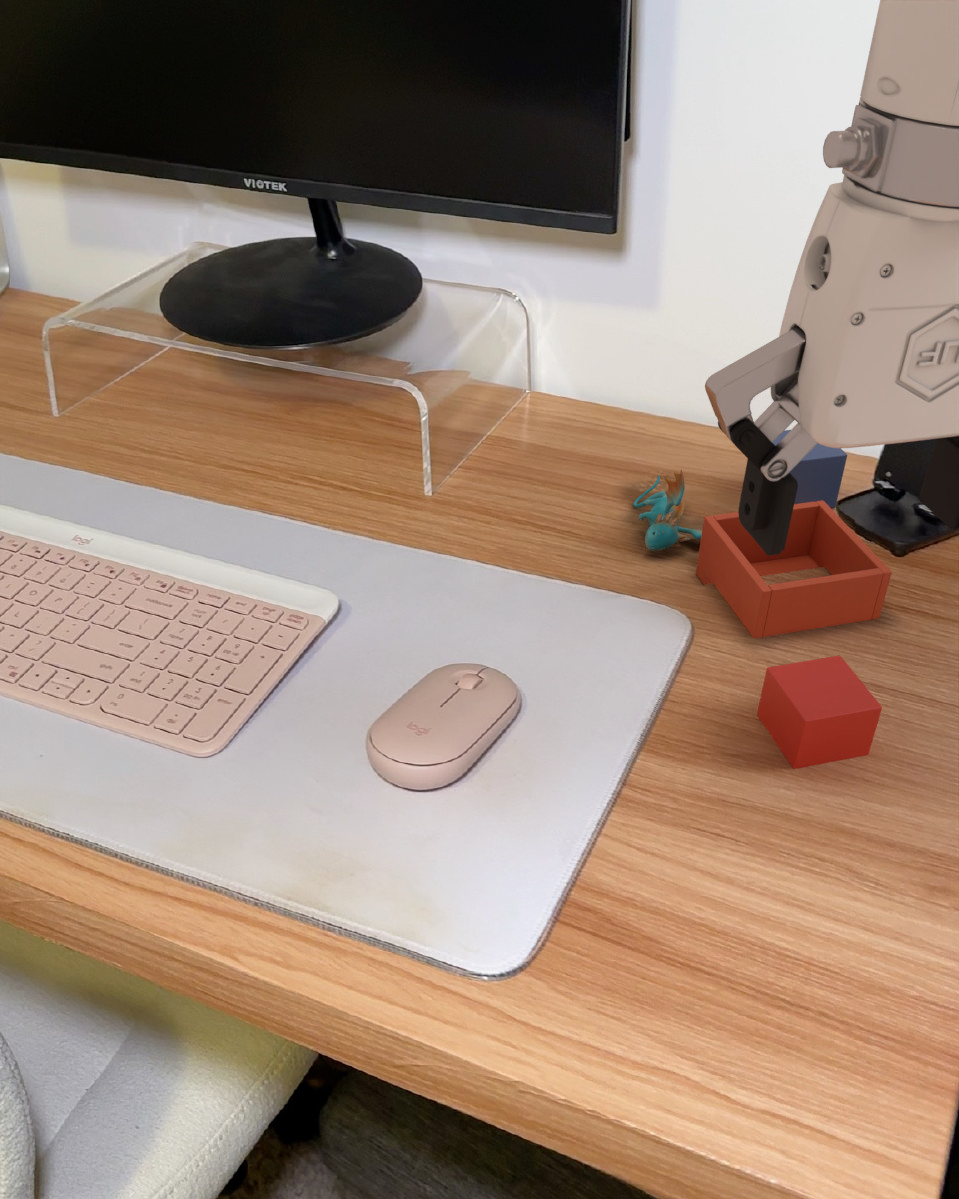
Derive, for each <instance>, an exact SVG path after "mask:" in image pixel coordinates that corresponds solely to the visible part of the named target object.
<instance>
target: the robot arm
mask: <svg viewBox="0 0 959 1199" xmlns="http://www.w3.org/2000/svg"><path fill="white" fill-rule="evenodd" d="M862 81H863V82H862V86H861V90H860V97H859V101H858V104H855V107H854V113H853V116H852V122H851V126H848V127H846V128H845V129H844V130H832V131H830V132H829V133H828V134H827V135H826V137H825V139H824V143H823V147H822V157H823V162H824V164H825V167H826V168H828V169H839V168H840V169H841V168H842V170H841V173H842V175H843V178H842V182H835V183H832V184H829V186H828V187H827V191H826V193H825V195H824V197H823V199H822V201H821V204H820V206H819V208H818V210H817V213H816V216H815V218H814V221H813V223H812V225H811V228H810V231H809V234H808V235H807V239H806V241H805V245H804V247H803V250H802V253H801V256H800V259H799V262H798V264H797V268H796V272H795V274H794V279H793V280H792V284H791V288H790V290H789V294H788V298H787V301H786V305H785V306H786V307H785V310H784V313H783V316H782V321H781V325H780V328H779V329H780V330H779V334H778V337H777V338H774V339H772V340H770V341H769V342H767V343H765V344H764V345H762V346H760V347H759V348H756V349H754V350H753V351H752V352H750V353H748V354H746V355H744V356H743V357H741V358H739V359H737V360H735V361H733V362H732V363H730V364H729V365H726V366H725V367H723V368H721V369H719V370H717V371H716V372H714V373H712V374H711V375H710V376H708V378H707V379H706V381H705V383H704V390H705V393H706V395H707V398H708V400H709V403H710V405H711V409H712V411H713V413H714V416H715V417H716V419H717V426H718V429H719V430H720V431H721V432H722V433H723V434H724V435H725V436H726V438H728V440H729V441H730V442H731V443H732V444H733V445H734V446H735V447H736V448H737V449H738V450H739V451H740V452H741V453H742V455H744V457H746V458H747V460H746V466H745V470H744V477H743V483H742V488H741V494H740V499H739V504H738V511H737V512H738V514H739V520H740V523H741V524H742V526H743V527H744V528H745V529H746V530H747V531H748V532H749V534H750V535H751V536H752V537H753V538H754V540H755V541H756V542H757V543H758V545H759V546H760V547H761V548H762V549H763V551H764V552H765V553H766V554H767V555H777V554H780V553H781V551H783V550H784V548H785V544H786V539H787V535H788V530H789V526H790V521H791V516H792V512H793V507H794V503H795V498H796V493H797V489H798V483H797V480H796V479H795V478H794V477H793V476H792V475H791V474H790V473H789V472H790V471H791V470H792V469H793V468H794V467H795V466H796V465H797V464H798V463H799V462H800V461H801V460H802V459H803V458H804V457H805V456H806V455H807V454H808V453H809V452H810V451H811V450H812V449H813V448H814V447H815V446H816V445H817V444H818V443H819V444H821V445H823V446H826V447H831V448H841V449H852V448H853V449H854V448H863V447H873V446H874V447H875V446H883V445H891V444H892V445H894V444H903V443H911V442H918V441H928V440H929V441H930V440H934V444H933V448H932V451H931V454H930V458H929V460H928V464H927V468H926V472H925V475H924V479H923V482H922V486H921V489H920V492H919V501H920V503H921V504H922V505H924V506H925V507H926V508H927V509H928V510H929V511H931V513H933V515H935V516H936V517H937V518H938V519H939V520H940V521H941V522H943V524H944V525H946V526H947V527H948V528H949V529H951V530H952V531H959V0H879V4H878V8H877V13H876V19H875V25H874V28H873V32H872V38H871V43H870V47H869V51H868V57H867V60H866V66H865V71H864V75H863V80H862ZM768 389H770V397H771V399H772V402H771V404H770V405H769V406H768V407H767V408H766V409H765V410H764V411H763V412H762V413H761V414H760V415H759V416H758V417H757V418H756V419H755V420H754V419H753V415H752V414H753V413H752V410H751V404H752V401H753V399H754V398H755V397H756V396H757V395H759V394H761V393H763V392H765V391H766V390H768ZM793 422H796V424H795V425H794V427H792V428H791V429H790V430H791V431H790V432H789V433H788V434H787V435H786V436H785V437H784V438H783V439H782V440H781V441H780V442H779V443H778V444H777V445H776V446H775V445H774V444H773V442H774V441H775V440H776V439H777V438H778V437H779V436H780V435H781V434H782V433H783V432H784V431H785V430H787V429H788V428H789V427H790V426H791V425H792V423H793Z"/></svg>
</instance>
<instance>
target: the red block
mask: <svg viewBox="0 0 959 1199" xmlns="http://www.w3.org/2000/svg"><path fill="white" fill-rule="evenodd" d="M762 685H763V686H762V689H761V693H760V699H759V703H758V709H757V711H756V712H757V713H756V715H757V717H758V719H759V720H760V721H761V723H762V724H763V726H764V728H765V729H766V730H767V732H768V733H769V735H770V736H771V738H772V740H774V742H775V743H776V745H777V746H778V748H779V750H780V751H781V753H782V755H784V757H785V758H786V760H787V762H788V763H789V765H790V766H791V768H792V769H793V770H796V769H802V768H808V767H813V766H817V765H823V764H829V763H834V762H838V761H844V760H849V759H854V758H855V759H856V758H860V757H865V756H869V754H870V750H871V747H872V745H873V740H874V737H875V733H876V730H877V727H878V724H879V720H880V718H881V714H882V710H883V706H882V705H881V704H880V703H879V701H878V700H877V699H876V697H875V696H874V695H873V694H872V692H871V691H870V690H869V689H868V687H867V686H866V685H865V684H864V683H863V681H862V680H861V679H860V678H859V676H858V675H857V674H856V672H854V670H853V669H852V668H851V667H850V665H849V664H848V663H847V662H846V661H845V659H844V658H843V657H842V656H841V655H834V656H827V657H820V658H815V659H810V660H804V661H797V662H792V663H786V664H780V665H779V664H778V665H774V666H768V667H766V670H765V674H764V680H763V684H762Z"/></svg>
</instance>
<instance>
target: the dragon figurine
mask: <svg viewBox="0 0 959 1199" xmlns="http://www.w3.org/2000/svg"><path fill="white" fill-rule="evenodd" d="M673 475H674V478H675V481H673V480H670V479H668V478H666V477H664V480H665V481H666V483H667V488H668V489H667V490H666V491H665V490H661V491H659V492H656V493H653V494H652V495H650V496H648V497H647V498H646V499H645V500H643V501H640V500H642V499H643V498H644V497H645V496H646V495H647V494H649V493H650V492H651V491H653V490H654V489H655V488H656V487H657V486H658V484H659V483H660V481H661V477H660V475H659V474H658V475H657V478H656V481H655V482H654V484H653V485H652V486H651V487H649V488H648V489H646V491H644V492H643V493H642V494H640V495H639V496H638V497H637V498H635V500H634V501H633V504H632V506H633V507H634V508H636V509H641V508H644V507H646V506H651V507H652V508H651V509H650V510H649V511H645V512H643V513H639V515H638V520H641V521H644V520H645V519H648V520H647V521H648V524H649V526H647V529H646V532H645V536H644V544H645V547H646V549H648V550H649V551H653V552H657V551H664V550H666V549H668V548H671V549H672V548H675V547H676V548H678V547H682V545H681V544H680V543H683V542H684V541H690V540H691V538H689V537H688V535H691V536H692V537H693V538H694V539H695V540H701V536H702V529H696V528H689V527H681V526H679V525H678V523H679V521H680V519H681V518H682V517H683V515H684V512H685V507H686V503H685V502H684V498H683V497H684V494H685V488H686V486H685V484H686V483H685V476H684V473H683V469H680V473H677V472H675V471H674V472H673ZM638 502H640V503H638ZM686 534H687V535H686Z"/></svg>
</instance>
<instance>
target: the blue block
mask: <svg viewBox="0 0 959 1199" xmlns="http://www.w3.org/2000/svg"><path fill="white" fill-rule="evenodd" d="M791 430H792V429H785V430H784V432H783V433H782V434H781V435H780V436H779V437H778V438H777V439H776V440H775V441H774V442H773V444H774V445H775V446H776V445H777V444H778V443H779V442H780V441H781V440H782V439H783V438H784V437H785V436H786V435H787V434H788V433H789V432H790V431H791ZM847 458H848V454H847V452H845V451H844V450H843V448H831V447H826V446H823V445H821V444H819V443H818V444H817V445H816V446H815V447H814V448H813V449H812V450H811V451H810V452H809V453H808V454H807V455H806V456H805V457H804V458H803V459H802V460H801V461H800V462H799V463H798V464H797V465H796V466H795V467H794V468H793V469H792V470H791V471H790V472H789V473H790V474H791V475H792V476H793V477H794V478H795V479H796V480H797V483H798V489H797V493H796V498H795V503H794V504H800V503H807V502H816V501H822V500H823V501H824V502H825V503H826V504H827V505H828V506H829V507H830V508H831V509H834V508H836V507H837V503H838V498H839V493H840V489H841V485H842V480H843V476H844V471H845V468H846V463H847Z"/></svg>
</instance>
